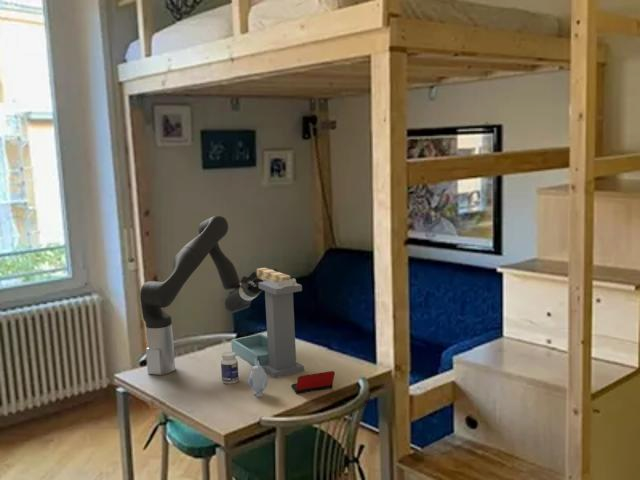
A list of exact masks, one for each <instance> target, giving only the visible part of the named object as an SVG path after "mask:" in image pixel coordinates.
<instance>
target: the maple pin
mask: <svg viewBox="0 0 640 480" xmlns="http://www.w3.org/2000/svg"><path fill="white" fill-rule="evenodd" d="M256 275H257V278H259V279H262V280H263V279H264V278H267V279H269V280H272V281H275V282H278V283H279V281H281V280H288V279H291V275H288V274H286V273H284V272H283V273H282V272H280V271H278V272H277V271H274V269H271V268H267V267H260V268H256Z"/></svg>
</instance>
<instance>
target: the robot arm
mask: <svg viewBox="0 0 640 480" xmlns="http://www.w3.org/2000/svg"><path fill="white" fill-rule="evenodd" d="M228 231H229V223H228V221H227V219H226V218H225V217H224V216H221V215H214V216H212V217H210V218H207V219H205V220H204V221H202V222H200V224H199V225H198V233H199V234H198V235H197V236H196V237H194V238H193V239H191V240H190V241H189V242H188V243H186V244H185V245H184V246H183V247H182V248H181V249H180V250H179V251H178V252H177V254H176V255H175V256H174V258H173V259H172V273H171V274H170V275H169V276H168V278H167V279H166V280H164V281H157V280H156V281H154V280H152V281H150V280H149V281H146V282H144V283H143V284H142V286H141V288H140V293H139V294H140V296H139V297H140V306H141V314H142V319H143V321H144V323H145V336H146V342H147V343H146V344H147V347H146V348H145V356H146V371H147V374H148V375H156V376H163V375H166V374H169V373H172V372H174V371H175V370H176V361H175V350H174V349H175V348H174V347H175V346H174V335H173V322H172V317H171V315H169V314H168V313H166V312H165V311H164V310H162V308H163V309H164V308H169V306H170V305H171V304H173V302H174V301H175V299H176V298H177V296H178V294H179V293H180V291H181V290H182V289H183V287H184V285H185V283H186V282H187V281H188V280H189V278H190V277H191V276H192V274H193V273H194V272H195V271H196V270H197V269H198V268H199V266H200V265H201V264H202V262H203V261H204V260H205V258H207V256H208V255H209V256H210V257H211V260H212V262H213V263H214V265H215V268H216V270H217V273H218V276H219V278H220V282H221V285H222V287H223V290H226V291H228V290H232V291H233V290H234V291H233V292H231V293H230V294H228V295H227V296H226V297H225V300H224V308H225V309H226V311H227V312H229V313H233V314H234V313H237V312H240V311H242V310H245V309H248V308H249V307H250V306H251V304H252V301H253V299H255V298H257V297H258V296H259V295H260V293H262V292H263V290H262V289H259V287H258V283H259V282H263V280H262V279H259V278H257V271H256V272H255V271H253V272H252V273H250V274H249V275H247V276H242V278H241V279H240V278H239V275H238V272H237V269H236V266H235V265H234V263H233V262H232V261H231V260H230V258H228V256H226V255H225V253H224V252H223V251H222V249H221V247H220V245H219V241H221V240H222V239H223V238H224V237H225V236H226V235H227V233H228ZM273 270H274V271H277V272H279V271H278V269H277V268H274V269H273Z"/></svg>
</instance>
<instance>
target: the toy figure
mask: <svg viewBox="0 0 640 480" xmlns="http://www.w3.org/2000/svg"><path fill="white" fill-rule="evenodd" d="M255 365H256V366H253V367H252V368H251V371H250V373H249V377H248V379H247V381H248V386H249V388H251V390H252V391H254V393H253V394H254V395H255V396H256V397H257V398H261V397H263V391H264V390H265V389H266V388H267V386H268V382H269V379H268V374H266V373H265V371H264V369H263V368H262V366H260V363H259V361H257V359H255Z"/></svg>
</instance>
